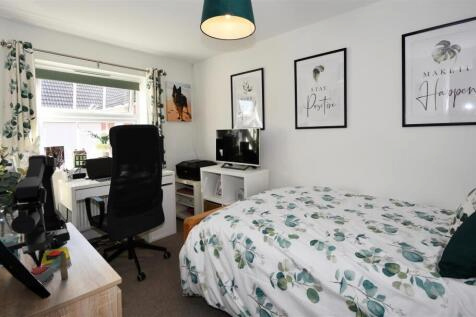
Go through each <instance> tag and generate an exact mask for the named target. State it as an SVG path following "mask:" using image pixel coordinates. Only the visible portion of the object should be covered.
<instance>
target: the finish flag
mask: <svg viewBox="0 0 476 317" xmlns="http://www.w3.org/2000/svg"><path fill="white" fill-rule="evenodd" d="M59 265H60V269H59V270H60V279H61V281H65V280H68V279H69V273H68V267H67V262H66V253H60V254H59V256H58V257H57V258H56V259H54V260H53V261H52V269H55V268H56V267H57V266H59Z"/></svg>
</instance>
